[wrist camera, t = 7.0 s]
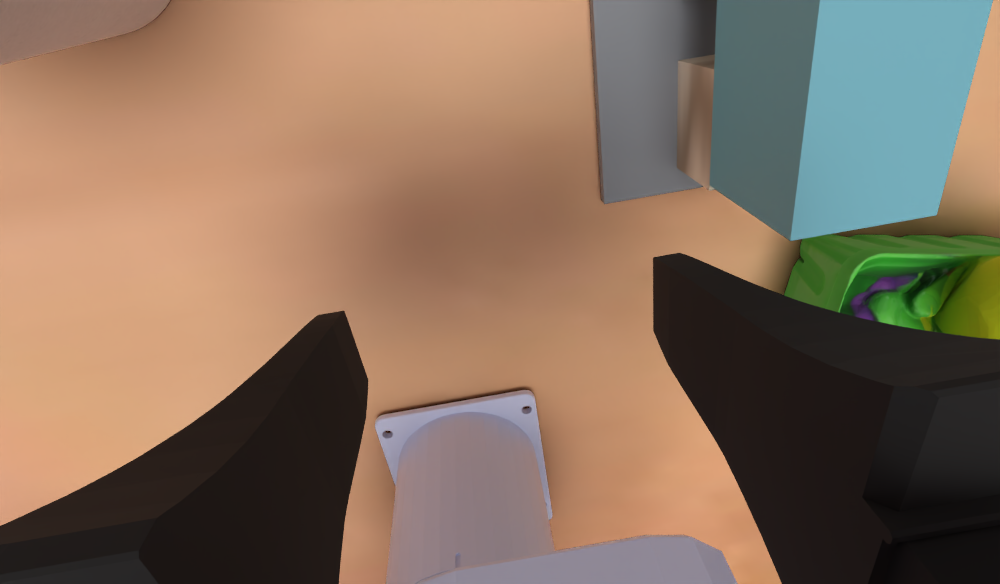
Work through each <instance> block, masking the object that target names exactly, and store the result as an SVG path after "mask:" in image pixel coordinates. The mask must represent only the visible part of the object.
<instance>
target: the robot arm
mask: <svg viewBox="0 0 1000 584" xmlns="http://www.w3.org/2000/svg"><path fill="white" fill-rule="evenodd" d="M653 328H654V333H655V335H656V338H657V340H658V343H659V345H660V347H661V350H662V352H663V354H664V356H665V359H666V361H667V363H668V365H669V367H670V368H671V370H672V372H673V373H674V375H675V377H676V378H677V380H678V381H679V383H680V385H681V386H682V388H683V390H684V391H685V393H686V394H687V396H688V397H689V399H690V401H691V402H692V404H693V405H694V407H695V409H696V410H697V412H698V413H699V415H700V416H701V418H702V420H703V421H704V423H705V424H706V426H707V428H708V429H709V431H710V432H711V434H712V435H713V437H714V439H715V440H716V442H717V444H718V446H719V447H720V449H721V451H722V453H723V455H724V456H725V459H726V461H727V463H728V465H729V467H730V469H731V471H732V473H733V475H734V477H735V479H736V481H737V483H738V485H739V487H740V490H741V492H742V494H743V496H744V498H745V500H746V502H747V505H748V507H749V509H750V511H751V513H752V516H753V518H754V520H755V522H756V524H757V527H758V529H759V531H760V533H761V535H762V538H763V540H764V542H765V545H766V547H767V549H768V552H769V554H770V557H771V559H772V561H773V564H774V566H775V568H776V571H777V573H778V575H779V578H780V580H781V582H782V584H1000V339H989V338H977V337H969V336H961V335H954V334H947V333H940V332H932V331H926V330H920V329H914V328H908V327H902V326H897V325H892V324H887V323H882V322H877V321H873V320H868V319H863V318H859V317H855V316H851V315H846V314H843V313H839V312H836V311H832V310H828V309H825V308H821V307H818V306H814V305H811V304H808V303H805V302H802V301H798V300H795V299H793V298H790V297H787V296H784V295H782V294H779V293H776V292H773V291H771V290H768V289H765V288H763V287H760V286H758V285H755V284H753V283H751V282H748V281H746V280H743V279H741V278H739V277H736V276H734V275H732V274H729V273H727V272H725V271H723V270H720V269H718V268H716V267H714V266H711V265H709V264H707V263H704V262H702V261H700V260H697V259H695V258H693V257H690V256H687V255H685V254H681V253H676V254H670V255H665V256H659V257H653ZM367 395H368V378H367V375H366V372H365V369H364V366H363V363H362V361H361V358H360V355H359V352H358V349H357V346H356V343H355V340H354V338H353V335H352V332H351V329H350V326H349V323H348V320H347V317H346V314H345V312H344V311H340V312H334V313H328V314H322V315H318V316H316V317H315V318H314V319H313V320H311V321H310V322H309V323H308V324H307V325H306V326H305V327H304V328H302V329H301V330H300V331H299V332H298V333H297V334H296V335H295V336H294V337H293V338H292V339H291V340H290V341H289V342H288V343H287V344H286V345H285V346H284V347H283V348H281V349H280V350H279V351H278V352H277V353H276V354H275V355H274V356H273V357H272V358H271V359H270V360H269V361H268V362H267V363H266V364H264V365H263V366H262V367H261V368H260V369H259V370H258V371H257V372H255V373H254V374H253V375H252V376H251V377H250V378H248V379H247V380H246V381H245V382H244V383H243V384H242V385H240V386H239V387H238V388H237V389H236V390H235V391H233V392H232V393H231V394H230V395H229V396H227V397H226V398H225V399H224V400H222V401H221V402H220V403H218V404H217V405H216V406H215V407H213V408H212V409H211V410H209V411H208V412H206V413H205V414H204V415H202V416H201V417H200V418H198V419H197V420H195V421H194V422H193V423H191V424H190V425H188V426H187V427H185V428H184V429H182V430H181V431H179V432H178V433H176V434H175V435H173V436H171V437H170V438H168V439H167V440H165V441H163V442H162V443H160V444H159V445H157V446H156V447H154V448H152V449H151V450H149V451H148V452H146V453H144V454H143V455H141V456H140V457H138V458H136V459H134V460H133V461H131V462H129V463H127V464H126V465H124V466H122V467H120V468H118V469H117V470H115V471H113V472H111V473H109V474H108V475H106V476H104V477H102V478H100V479H98V480H96V481H94V482H92V483H90V484H89V485H87V486H85V487H83V488H81V489H79V490H77V491H75V492H73V493H71V494H69V495H67V496H65V497H63V498H60V499H58V500H56V501H54V502H52V503H50V504H48V505H45V506H43V507H41V508H39V509H37V510H35V511H32V512H30V513H28V514H26V515H24V516H22V517H19V518H17V519H15V520H13V521H11V522H8V523H6V524H4V525H2V526H0V584H339V572H340V560H341V550H342V541H343V531H344V522H345V515H346V510H347V504H348V499H349V494H350V489H351V485H352V480H353V476H354V471H355V467H356V462H357V457H358V453H359V448H360V444H361V439H362V434H363V429H364V424H365V419H366V410H367ZM525 406H530V407H529V408H527V409H523V407H525ZM375 429H376V432H377V435H378V438H379V441H380V444H381V446H382V449H383V452H384V455H385V458H386V461H387V464H388V466H389V469H390V472H391V475H392V478H393V481H394V484H395V486H396V491H395V500H394V510H393V520H392V529H391V539H390V549H389V558H388V568H387V578H386V584H737V582H736V580H735V578H734V576H733V574H732V572H731V570H730V568H729V565H728V563H727V561H726V559H725V557H724V555H723V553H722V551H720V550H718V549H716V548H713V547H711V546H709V545H707V544H705V543H703V542H701V541H699V540H697V539H695V538H693V537H690V536H686V535H643V536H637V537H631V538H626V539H620V540H614V541H608V542H603V543H597V544H591V545H585V546H580V547H574V548H568V549H562V550H557V551H555V548H554V543H553V538H552V533H551V528H550V523H549V520H550V519H551V518H552V508H551V502H550V495H549V488H548V482H547V475H546V468H545V462H544V455H543V448H542V442H541V435H540V428H539V422H538V415H537V409H536V402H535V397H534V394H533V393H532V392H531V391H529V390H520V391H515V392H509V393H503V394H498V395H492V396H486V397H481V398H475V399H469V400H464V401H458V402H452V403H447V404H441V405H435V406H429V407H424V408H418V409H412V410H407V411H401V412H395V413H390V414H384V415H381V416H379V417H378V418H377V419H376V421H375ZM384 431H391V433H386V432H384Z"/></svg>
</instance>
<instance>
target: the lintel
mask: <svg viewBox="0 0 1000 584" xmlns="http://www.w3.org/2000/svg"><path fill="white" fill-rule="evenodd" d="M992 2H993V0H717V14H716V39H715V63H714V87H713V111H712V136H711V160H710V184H709V185H710V186H711V187H713V188H714V189H715V190H717V191H718V192H720V193H721V194H723V195H724V196H726V197H727V198H729V199H730V200H731V201H733V202H734V203H736V204H737V205H739V206H740V207H742V208H743V209H745V210H746V211H747V212H749V213H750V214H752V215H753V216H755V217H756V218H758V219H759V220H760V221H762V222H763V223H765V224H766V225H768V226H769V227H771V228H772V229H774V230H775V231H776V232H778V233H779V234H781V235H782V236H784V237H785V238H787V239H788V240H790V241H793V240H799V239H805V238H810V237H816V236H822V235H827V234H833V233H839V232H844V231H850V230H856V229H861V228H867V227H873V226H878V225H884V224H890V223H896V222H901V221H907V220H913V219H918V218H924V217H930V216H935V215H937V212H938V209H939V205H940V201H941V197H942V193H943V189H944V186H945V182H946V178H947V174H948V170H949V167H950V163H951V159H952V155H953V151H954V147H955V144H956V140H957V136H958V132H959V128H960V125H961V121H962V117H963V113H964V109H965V105H966V102H967V98H968V94H969V90H970V86H971V82H972V79H973V75H974V71H975V67H976V63H977V60H978V56H979V52H980V48H981V44H982V40H983V37H984V33H985V29H986V25H987V21H988V17H989V14H990V10H991V6H992Z"/></svg>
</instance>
